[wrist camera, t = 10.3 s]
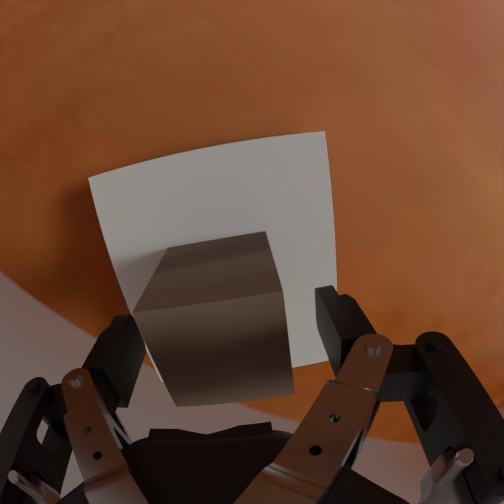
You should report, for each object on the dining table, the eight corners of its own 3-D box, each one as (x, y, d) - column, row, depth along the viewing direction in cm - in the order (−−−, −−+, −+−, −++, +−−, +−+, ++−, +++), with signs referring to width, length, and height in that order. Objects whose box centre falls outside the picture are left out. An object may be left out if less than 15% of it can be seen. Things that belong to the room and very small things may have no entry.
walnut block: (168, 247, 15) (132, 312, 9) (265, 231, 15) (283, 291, 9) (191, 326, 17) (176, 406, 11) (277, 314, 16) (294, 393, 11)
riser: (127, 165, 19) (88, 178, 13) (299, 133, 18) (324, 131, 13) (175, 331, 24) (161, 382, 18) (316, 310, 24) (336, 358, 18)
